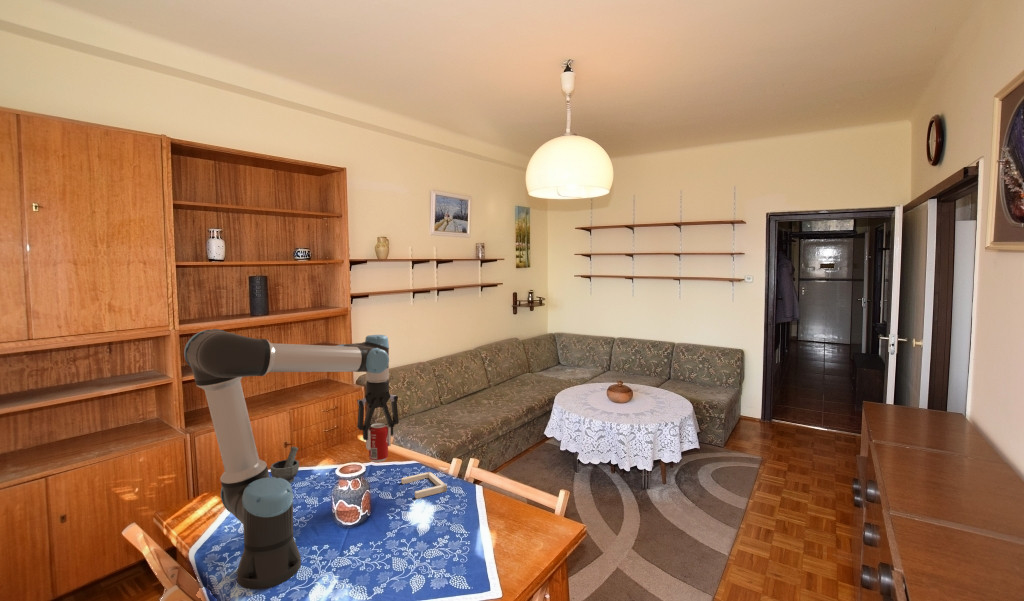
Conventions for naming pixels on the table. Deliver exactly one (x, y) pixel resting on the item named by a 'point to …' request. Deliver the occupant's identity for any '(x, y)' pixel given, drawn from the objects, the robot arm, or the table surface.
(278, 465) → the mortar and pestle
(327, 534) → the table surface
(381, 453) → the beverage can
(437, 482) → the u-shaped wooden frame
